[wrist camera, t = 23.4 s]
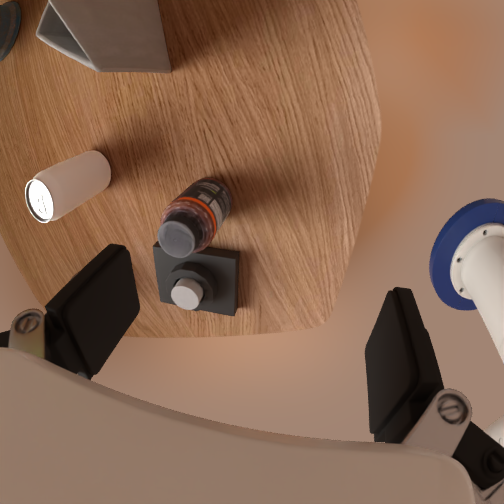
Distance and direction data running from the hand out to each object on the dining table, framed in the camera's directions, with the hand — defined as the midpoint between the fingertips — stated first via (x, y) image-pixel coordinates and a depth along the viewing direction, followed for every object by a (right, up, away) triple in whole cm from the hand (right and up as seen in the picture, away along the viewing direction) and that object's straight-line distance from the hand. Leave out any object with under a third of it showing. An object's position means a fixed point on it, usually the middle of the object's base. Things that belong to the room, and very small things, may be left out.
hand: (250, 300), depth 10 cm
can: (-23, +14, +28) cm, 39 cm away
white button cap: (-8, -3, +31) cm, 32 cm away
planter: (-15, +30, +17) cm, 37 cm away
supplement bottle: (-5, +8, +27) cm, 29 cm away
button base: (-8, -2, +34) cm, 35 cm away
